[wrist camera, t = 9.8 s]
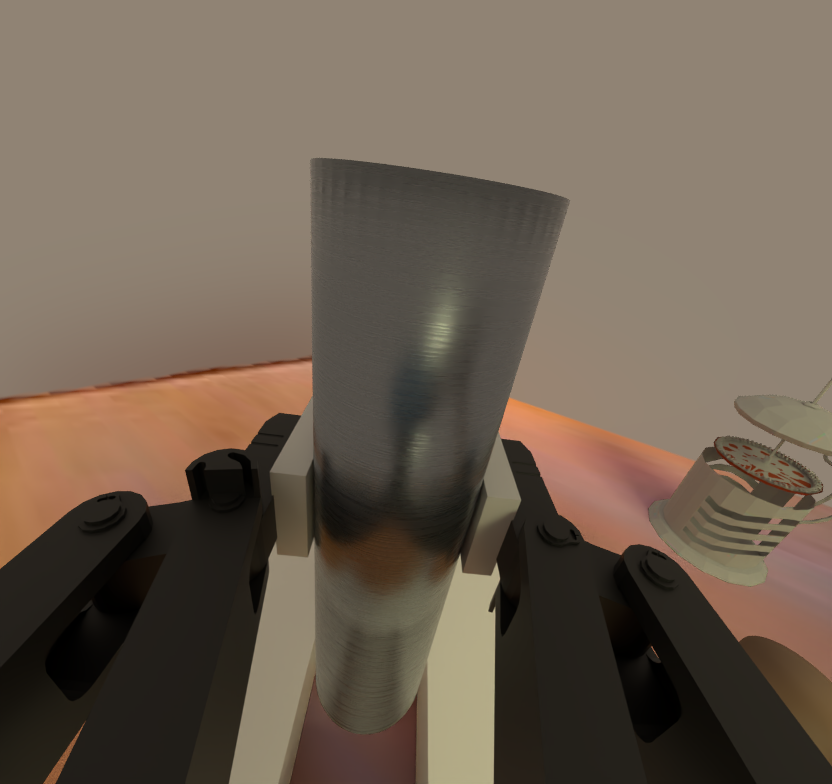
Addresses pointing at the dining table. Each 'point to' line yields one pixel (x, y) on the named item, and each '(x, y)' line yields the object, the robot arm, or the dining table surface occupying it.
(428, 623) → the metal pin
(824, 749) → the walnut pin
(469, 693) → the hole plate
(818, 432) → the french press
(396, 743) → the dining table surface
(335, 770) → the dining table surface
